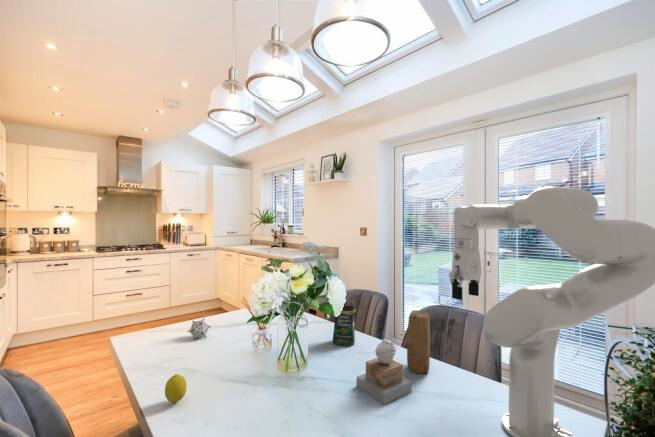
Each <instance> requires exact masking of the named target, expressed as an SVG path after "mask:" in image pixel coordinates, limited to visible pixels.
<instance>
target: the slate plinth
mask: <svg viewBox="0 0 655 437" xmlns="http://www.w3.org/2000/svg"><path fill="white" fill-rule="evenodd" d="M412 386H413V383H412V381H410V380H409V379H407V378H405V377H403V376H402V381H401V382H399V383H397V384H394V385H392V386H390V387H387V388H385V389H384V388H382V387H380V386H379V385H377V384H375V383H374V382H372V381H370V380H369V379H367V378H366V373H363V374H361V375H360V374H359V375H358V376H356V387H357V388H358V389H359V390H361V391H363V392H365V393H366V394H367V395H369V396H371V397H372V398H373V399H375V400H377V401H378V402H380V403H381V404H382V405H387V404H389V403H391V402H393V401H396V400H397V399H400V398H401V397H404V396H406V395H408V394H410V393H412V392H413V391H412V390H413V389H412Z"/></svg>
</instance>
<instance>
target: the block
mask: <svg viewBox="0 0 655 437" xmlns="http://www.w3.org/2000/svg"><path fill="white" fill-rule="evenodd" d="M407 322H408V323H407V337H406V338H407V339H406V342H407V343H406V362H407V363H406V367H407V369H408V370H409V371H411V372H412V373H416V374H425V373H426V374H427V373H428V372H429V370H430V361H431V360H430V356H431V354H430V353H431V326H430V325H431V324H430V313H429V312H428V311H426V310H425V311H424V310H414V309H413V310H412V311H411V312H410V313H409V316H408V321H407Z"/></svg>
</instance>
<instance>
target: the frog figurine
mask: <svg viewBox="0 0 655 437" xmlns="http://www.w3.org/2000/svg"><path fill="white" fill-rule="evenodd" d="M396 351H397V347H396V344H395V343H394V342H393V341H392V340H390V339H385V338H383V339H382V341H381V342H379V343H378V344H377V346H376V348H375V356H376V358H378V360H379V361H380V362H381V363H383V364H388V363H390V362H391V361H392V360H394V356H395V355H396Z"/></svg>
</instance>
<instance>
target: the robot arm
mask: <svg viewBox="0 0 655 437" xmlns="http://www.w3.org/2000/svg"><path fill="white" fill-rule="evenodd" d="M598 211H599V203H598V200H597V198H596V197H595V195H594V194H592V193H591V192H590V191H587V190H586V189H583V188H577V187H569V186H568V187H565V186H564V187H563V186H543V187H539V188H537V189H534V190H533V191H532V192H531V193H530V194H527V195H522V196H519V197H517V199H515V200H514V203H512V204H501V205H499V204H471V205H468V206H465V205H463V206H457V207H455V208H454V210H453V253H452V261H451V270H450V271H449V273H448V276H449V281H450V285H451V298H452V299H454V300H460V301H462V300H463V286H462V284H463V283H464V281H466V282H468V294H469V296H475V297H477V296H478V297H479V294H480V293H479V292H480V291H479V290H480V286H479V284H480V278H481V277H482V265H481V264H482V263H481V254H480V245H479V244H480V241H479V240H480V238H479V236H480V230H496V231H497V230H515V229H516V230H517V229H523V230H524V229H525V230H528V229H538V230H539V231H540V232H541V233H542V234H543V235H545V237H546V238H548V239H549V240H550V241H551V242H553V243H554V244H555V245H556V246H557V247H558V248H559V249H561V250H562V251H563V252H564V253H565V254H566V255H568V256H569V257H571V258H572V259H575V261H578V262H581V263H584V264H587V265H588V264H589V265H590V266H587V267H585V268H583V269H582V270H579V271H578V272H576V273H575V274H574V275H571V276H570V277H569V278H567V279H565V280H563V281H561V282H559V283H554V284H545V285H544V284H542V285H540V284H539V285H531V286H530V285H529V286H525V287H523V288H519V289H518V290H516V291H514V292H513V293H511V294H510V295H508V296H506V297H505V298H504V299H503V300H501V301H499V302H498V303H497V304H495V305H494V306H492V307H491V308H490V309H489V310H488V311H487V312H486V314H485V316H484V319H483V329H484V333H485V334H486V336H487V338H488V339H489V340H490V341H491V342H492V343H494V344H495V345H496V346H499V347H502V348H507V349H508V348H510V351H509V356H508V412H507V413H504V414H503V415H502V416H501V425H502V427H503V429H504V430H505V431H506V433H508V434H509V435H510V436H511V437H573V432H571V431H568V430H566V429H563V428H562V427H561V426H559V419H558V418H555V359H556V358H555V357H556V352H557V345H558V340H559V337H560V330H562V329H563V330H565V329H571V328H575V327H578V326H579V325H582V324H584V323H585V322H587V321H589V320H591V319H593V318H595V317H597V316H600V315H601V314H603V313H606V312H607V311H610V310H611V309H613V308H615V307H617V306H619V305H621V304H624V303H625V302H628V301H630V300H631V299H633V298H635V297H637V296H639V295H641V294H642V293H644V292H646V291H647V290H649V289H650V288H651V287H652V286H653V285H654V284H655V228H654V227H653V226H650V225H648V224H646V223H643V222H640V221H635V220H628V219H627V220H626V219H597V218H595V216H596V215H597V213H598Z"/></svg>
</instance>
